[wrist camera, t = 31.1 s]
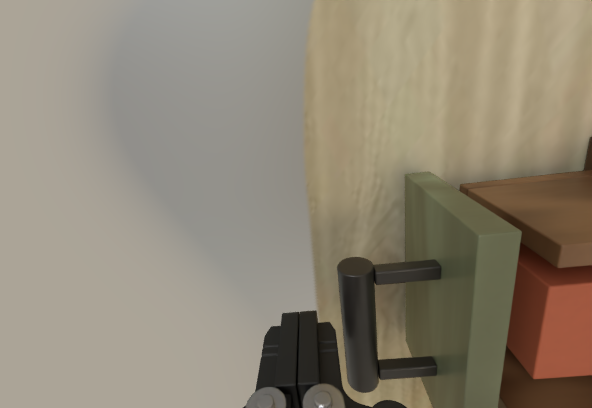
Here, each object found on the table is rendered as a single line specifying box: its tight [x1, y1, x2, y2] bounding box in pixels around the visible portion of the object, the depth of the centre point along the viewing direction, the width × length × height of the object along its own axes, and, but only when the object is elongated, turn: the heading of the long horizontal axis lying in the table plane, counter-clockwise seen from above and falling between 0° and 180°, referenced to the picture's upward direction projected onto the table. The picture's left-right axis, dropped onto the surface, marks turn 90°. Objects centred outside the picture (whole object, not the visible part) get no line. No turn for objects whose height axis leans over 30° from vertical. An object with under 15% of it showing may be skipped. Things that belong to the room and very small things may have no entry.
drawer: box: [337, 170, 592, 408], centre depth 13 cm, size 16×10×7 cm, turn 97°
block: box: [506, 243, 592, 379], centre depth 13 cm, size 4×4×4 cm
